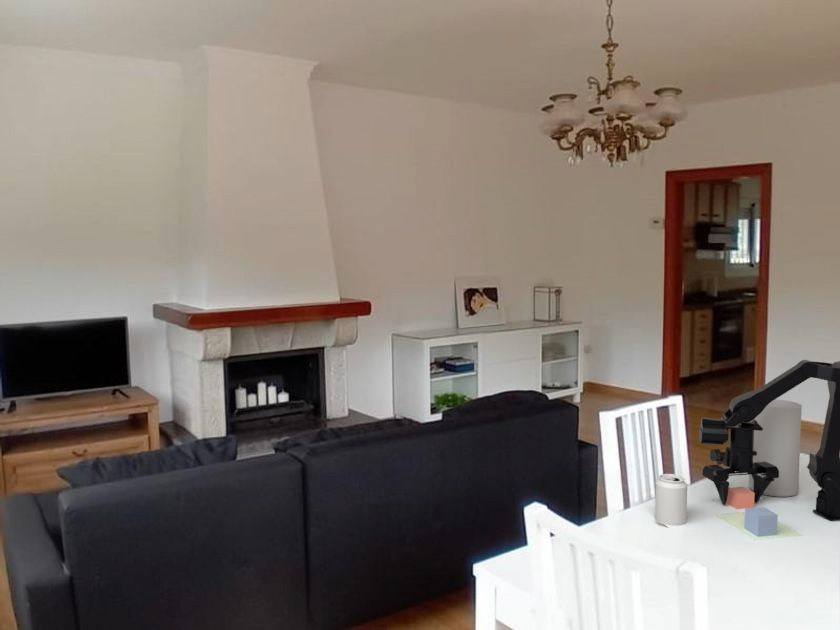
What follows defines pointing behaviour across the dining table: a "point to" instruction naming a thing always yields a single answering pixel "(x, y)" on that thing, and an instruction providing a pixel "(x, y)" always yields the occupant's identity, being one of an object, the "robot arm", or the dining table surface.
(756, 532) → the blue brick
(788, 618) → the dining table surface
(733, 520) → the build board
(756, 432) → the gray cylinder
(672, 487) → the can
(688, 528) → the dining table surface
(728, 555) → the dining table surface
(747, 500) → the red brick
